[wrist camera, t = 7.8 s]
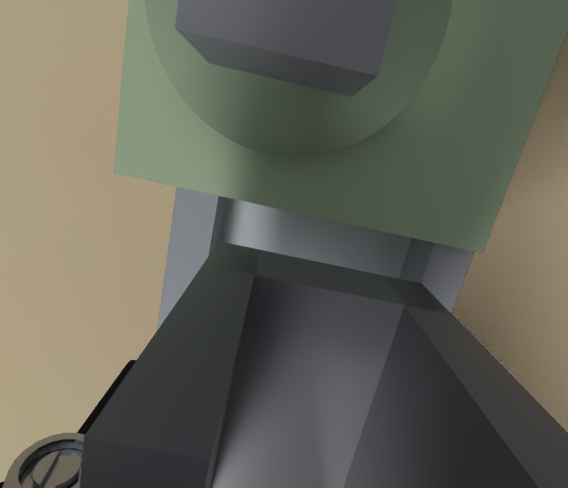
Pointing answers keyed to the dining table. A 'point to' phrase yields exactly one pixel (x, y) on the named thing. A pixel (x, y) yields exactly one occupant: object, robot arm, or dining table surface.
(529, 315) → the dining table surface
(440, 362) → the chute
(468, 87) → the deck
